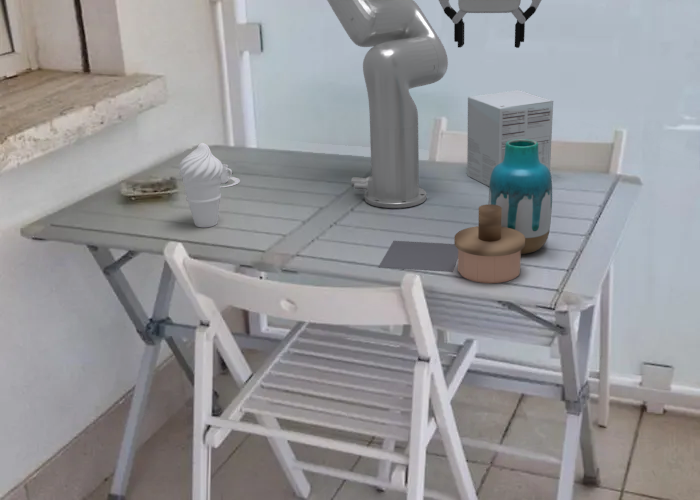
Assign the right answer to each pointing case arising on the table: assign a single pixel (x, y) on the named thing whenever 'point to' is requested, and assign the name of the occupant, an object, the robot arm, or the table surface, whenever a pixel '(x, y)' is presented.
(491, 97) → the supplement box
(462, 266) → the bowl
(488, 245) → the lid
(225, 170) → the teacup and saucer
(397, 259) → the mat
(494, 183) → the vase
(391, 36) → the robot arm
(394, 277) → the table surface
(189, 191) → the soft serve ice cream cone
